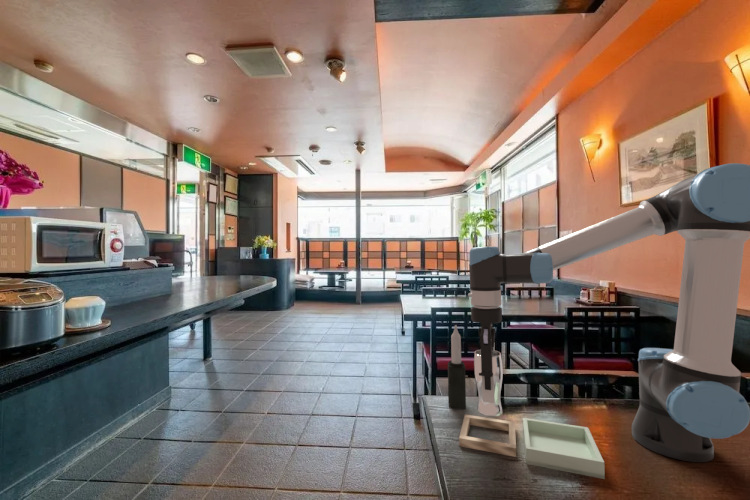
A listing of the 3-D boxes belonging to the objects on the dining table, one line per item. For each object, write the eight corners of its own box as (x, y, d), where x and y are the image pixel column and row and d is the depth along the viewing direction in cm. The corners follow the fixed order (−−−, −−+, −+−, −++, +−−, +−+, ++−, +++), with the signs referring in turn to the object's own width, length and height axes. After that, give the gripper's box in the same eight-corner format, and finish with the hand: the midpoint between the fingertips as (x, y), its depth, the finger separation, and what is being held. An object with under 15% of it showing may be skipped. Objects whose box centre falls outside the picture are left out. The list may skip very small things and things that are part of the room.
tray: (588, 441, 84) (587, 427, 84) (604, 479, 70) (604, 462, 70) (523, 430, 90) (522, 417, 90) (526, 463, 76) (525, 448, 76)
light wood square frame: (514, 429, 90) (514, 422, 90) (516, 456, 78) (516, 448, 78) (465, 421, 95) (465, 414, 95) (459, 446, 83) (459, 438, 83)
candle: (466, 409, 102) (464, 327, 103) (449, 408, 103) (447, 326, 103) (464, 402, 107) (463, 323, 108) (448, 401, 108) (446, 323, 108)
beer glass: (506, 418, 82) (504, 357, 83) (477, 417, 84) (474, 356, 84) (501, 406, 89) (499, 349, 89) (474, 404, 91) (472, 348, 91)
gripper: (474, 300, 97) (477, 380, 97) (467, 312, 79) (470, 410, 79) (501, 301, 95) (504, 383, 94) (500, 313, 77) (504, 414, 76)
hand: (489, 395), depth 87 cm, fingers closed on beer glass, 6 cm apart
